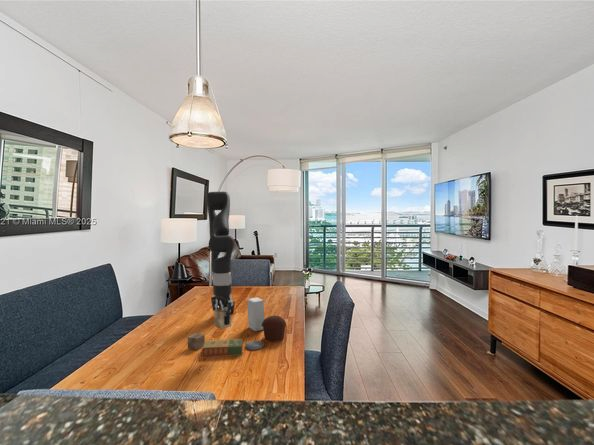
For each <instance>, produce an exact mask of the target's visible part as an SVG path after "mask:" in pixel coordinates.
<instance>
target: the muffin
mask: <svg viewBox="0 0 594 445" xmlns="http://www.w3.org/2000/svg"><path fill="white" fill-rule="evenodd" d="M261 326H262V327H263V330H262V331H263V336H264V340H265V341H267V342H272V343H273V342H274V343H276V342H281V341H282V340H283V339H284V338H285V331H286V326H287V322H286V320H285V319H284V318H283V317H281V316H279V315H270V316H268V317H266V318H264V321H263V322H262V324H261Z"/></svg>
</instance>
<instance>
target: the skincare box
mask: <svg viewBox="0 0 594 445" xmlns="http://www.w3.org/2000/svg"><path fill="white" fill-rule="evenodd" d="M246 302H247V304H246V305H247V320H248V321H247V322H248V325H247V326H248V328H249V329H250V330H252V331H253V332H258V331H264V330H263V327H262V326H261V324H262V322H263V321H264V319H265V305H264V302H265V301H264V300H263V299H262V298H259V297H257V296H256V297H251V298H247V300H246Z"/></svg>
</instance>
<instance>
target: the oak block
mask: <svg viewBox="0 0 594 445" xmlns="http://www.w3.org/2000/svg"><path fill="white" fill-rule="evenodd" d="M230 312H231V310H230ZM213 313H214V315H213V316H214V317H213V319H214V320H213V323H214V324H213V325H214V328H217V329H220V330H224V329H227V328H230V327H232V316H231V315H230V323H229V324H228V325H224V311H222V308H220V309H216V310H214V311H213ZM226 313H227V310H226Z"/></svg>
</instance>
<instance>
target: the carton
mask: <svg viewBox="0 0 594 445" xmlns="http://www.w3.org/2000/svg"><path fill="white" fill-rule="evenodd" d="M243 347H244V342H243V338H235V339H233V338H232V339H216V340H215V339H213V340H212V339H211V340H205V343H204V346H203V347H202V348H201V351H202V352H201V357H202V358H216V357H217V358H218V357H231V356H242V355H243Z"/></svg>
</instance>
